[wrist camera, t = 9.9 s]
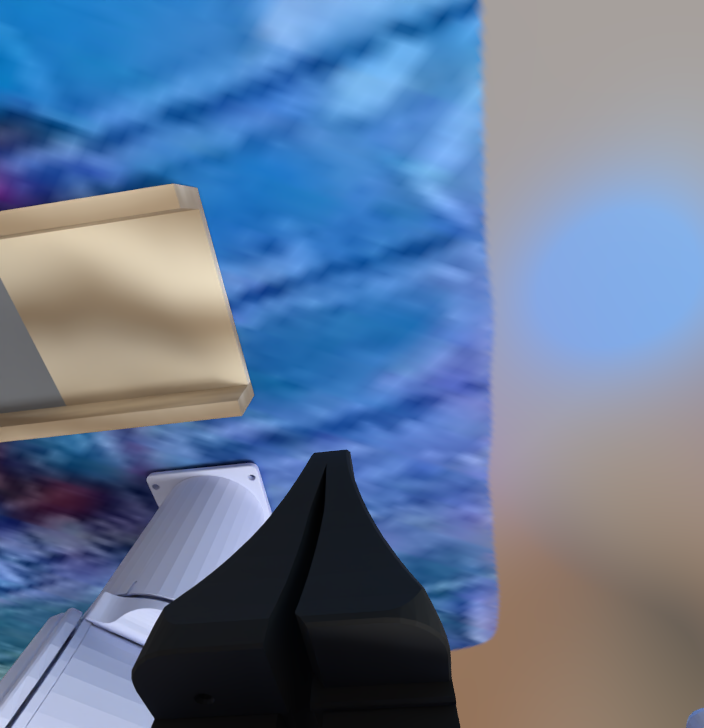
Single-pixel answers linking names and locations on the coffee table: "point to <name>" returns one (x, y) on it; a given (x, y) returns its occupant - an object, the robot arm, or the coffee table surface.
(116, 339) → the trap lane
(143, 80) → the coffee table surface
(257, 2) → the coffee table surface
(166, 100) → the coffee table surface
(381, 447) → the coffee table surface
